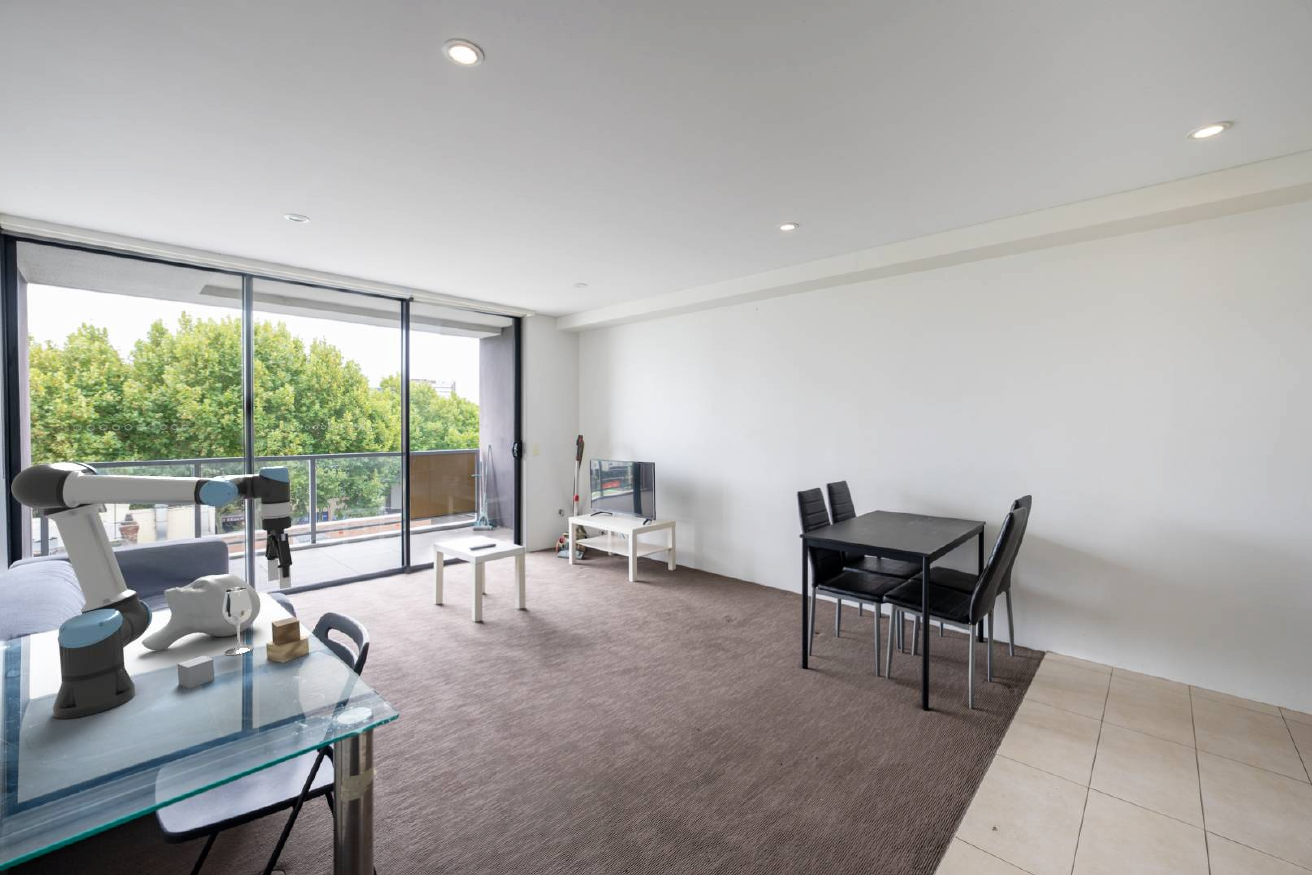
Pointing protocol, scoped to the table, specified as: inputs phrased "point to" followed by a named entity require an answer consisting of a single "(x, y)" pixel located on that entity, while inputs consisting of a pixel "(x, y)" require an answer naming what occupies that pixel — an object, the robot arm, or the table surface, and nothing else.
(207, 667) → the grey block
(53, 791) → the table surface
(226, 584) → the alien head
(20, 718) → the table surface
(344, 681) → the table surface
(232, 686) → the table surface
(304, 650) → the base block
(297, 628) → the walnut block
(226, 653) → the wineglass
